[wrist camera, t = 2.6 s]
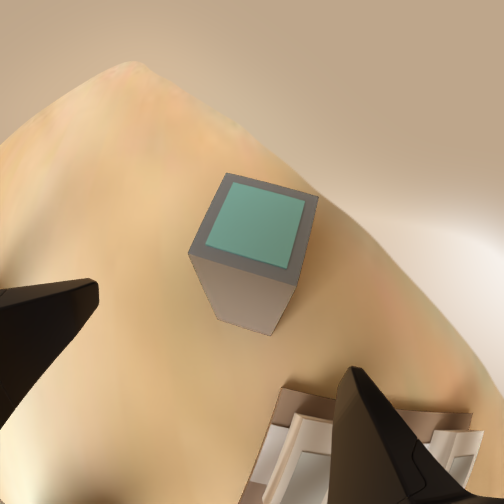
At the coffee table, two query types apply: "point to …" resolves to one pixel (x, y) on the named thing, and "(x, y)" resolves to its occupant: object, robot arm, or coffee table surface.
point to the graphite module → (252, 250)
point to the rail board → (328, 411)
